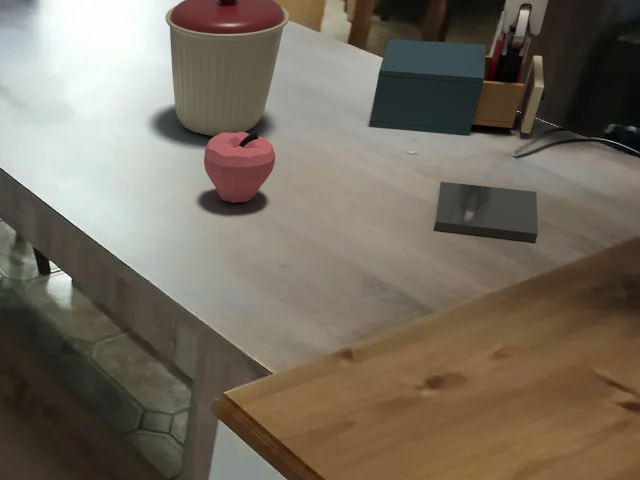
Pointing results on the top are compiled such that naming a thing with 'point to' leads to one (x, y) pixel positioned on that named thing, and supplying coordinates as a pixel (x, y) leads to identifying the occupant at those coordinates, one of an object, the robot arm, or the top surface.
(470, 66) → the cabinet
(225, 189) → the apple
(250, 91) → the canister
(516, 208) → the board
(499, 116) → the drawer
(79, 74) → the top surface
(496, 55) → the red cylinder
